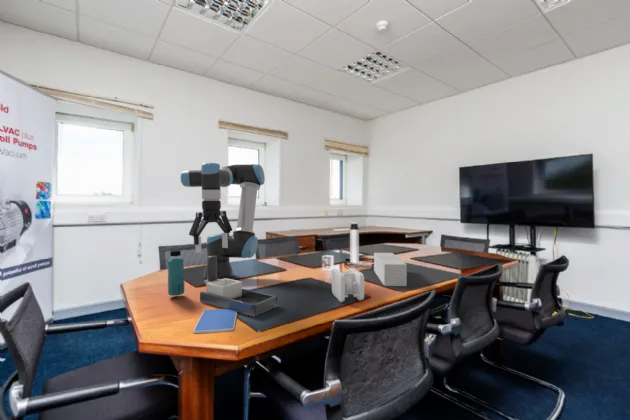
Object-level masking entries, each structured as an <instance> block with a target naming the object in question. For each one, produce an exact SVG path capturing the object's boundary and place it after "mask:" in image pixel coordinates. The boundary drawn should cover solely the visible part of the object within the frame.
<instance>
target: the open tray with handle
mask: <svg viewBox="0 0 630 420" xmlns="http://www.w3.org/2000/svg"><path fill="white" fill-rule="evenodd" d="M206 265H207V279H205V280H204V281H203V282H204V284H205V292H207V293H211V294H215V295H219V296H222V297H226V298H230V299H234V298H237V297H240V296H242V288H243V281H242V280H241V281H240V280H236V279H232V278H224V279H217V256H207V255H206Z"/></svg>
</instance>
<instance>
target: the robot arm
mask: <svg viewBox="0 0 630 420" xmlns="http://www.w3.org/2000/svg"><path fill="white" fill-rule="evenodd" d="M265 178H266V177H265V172H264V168H263V166H261V165H260V164H254V163H253V164H231V165H227V166H221V165H220V163H216V162H205V163H202V164H201V167H200V169H196V170H190V169H188V170H184V171H182V172H181V174H180V183H181V184H182V186H183V187H187V188H200V187H201V199H202V201H201V209H202V212H201V211H196V212H195V218H194V221H193V223H192V225H191V228H190V229H189V233H188V236H191V237H193V245H195V248H194V249H195V253H196V254H197V253H198V254H202V236H201V234H202V232H203V231H204V229H206V226H207V224H209V223H216V224H217V225H218V227H219V228H220V229H221V231H222V233H215V234H210V235H209V236H207V238H206V257H207V256H217V279H224V278H227V279H231V277H233V276H234V270H233V269H232V265H231V263H230V258H234V259H235V258H238V259H240V258H241V259H250V258H253V257H254V255H255V254H256V253H257V250H258V245H259V240H258V237H257V236H256V233H255V232H254V221H255V212H256V206H257V204H256V203H257V198H258V197H257V195H258V191H259V190H260V189H261V186H262V185H264V184H265V182H266V181H265ZM231 185H237V186H239V187H240V189H241V191H240V202H239V208H238V215H237V222H236V223H237V224H236V229H235V230H233V228H232V225H231V223H230V220H229V219H228V216H227V211H226V210H221V208H222V202H221V199H222V197H221V196H222V193H221V188H227V187H230V186H231ZM232 231H233V232H232ZM231 232H232V235H230V233H231ZM205 278H206V279H205ZM203 279H205V280H207V264H206V266H205V269H204V272H203Z"/></svg>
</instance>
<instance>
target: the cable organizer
mask: <svg viewBox="0 0 630 420" xmlns="http://www.w3.org/2000/svg"><path fill="white" fill-rule="evenodd" d="M331 292H332V294H333V296H334V297H335V298H336V299H337V300H338V302H339V303H343V302H345V301H346V298H347V299H348V298H349V296H348V295H352V296H353V298H356V299H357V300H358V301H359V302H360V301H363V300H364V299H365V275H364V274H363V273H362V272H361V271H359V270H358V269H356V268H354V267H349V268H348V270H347V272H341V271H339V270H338V269H337V268H332V269H331Z"/></svg>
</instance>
